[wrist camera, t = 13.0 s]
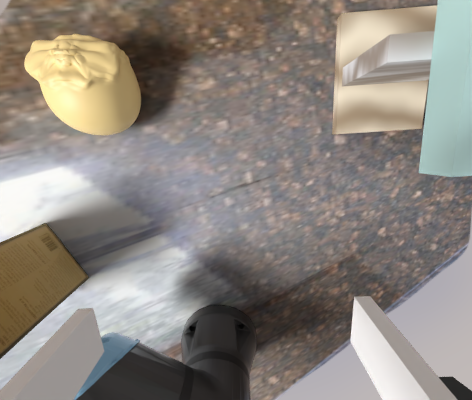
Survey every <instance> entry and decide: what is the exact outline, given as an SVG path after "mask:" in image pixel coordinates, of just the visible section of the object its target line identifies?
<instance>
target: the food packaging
mask: <svg viewBox="0 0 472 400" xmlns="http://www.w3.org/2000/svg"><path fill="white" fill-rule="evenodd" d="M88 278H89V277H88V275H87V274H86V273H85V272H84V270H83V269H82V268H81V267H80V265H79V264H78V263H77V262H76V260H75V259H74V258H73V257H72V255H71V254H70V253H69V251H68V250H67V249H66V248H65V246H64V245H63V243H62V242H61V240H60V239H59V238H58V237H57V236H56V235H55V234H54V232H53V231H52V230H51V229H50V228H49V227H48V225H47V224H42V225H40V226H38V227H35V228H33V229H31V230H28V231H26V232H24V233H21V234H19V235H17V236H14V237H12V238H10V239H7V240H5V241H3V242H1V243H0V359H1V358H2V357H3V356H4V355H5V354H6V353H7V352H8V351H9V350H10V349H12V348H13V347H14V346H15V345H16V344H17V343H18V342H19V341H20V340H21V339H22V338H23V337H25V336H26V335H27V334H28V333H29V332H30V331H31V330H32V329H33V328H34V327H35V326H36V325H37V324H39V323H40V322H41V321H42V320H43V319H44V318H45V317H46V316H47V315H49V314H50V313H51V312H52V311H53V310H54V309H55V308H56V307H57V306H58V305H60V304H61V303H62V302H63V301H64V300H65V299H66V298H67V297H68V296H70V295H71V294H72V293H73V292H74V291H75V290H76V289H77V288H78V287H79V286H81V285H82V284H83V283H84V282H85V281H86V280H87V279H88Z"/></svg>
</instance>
